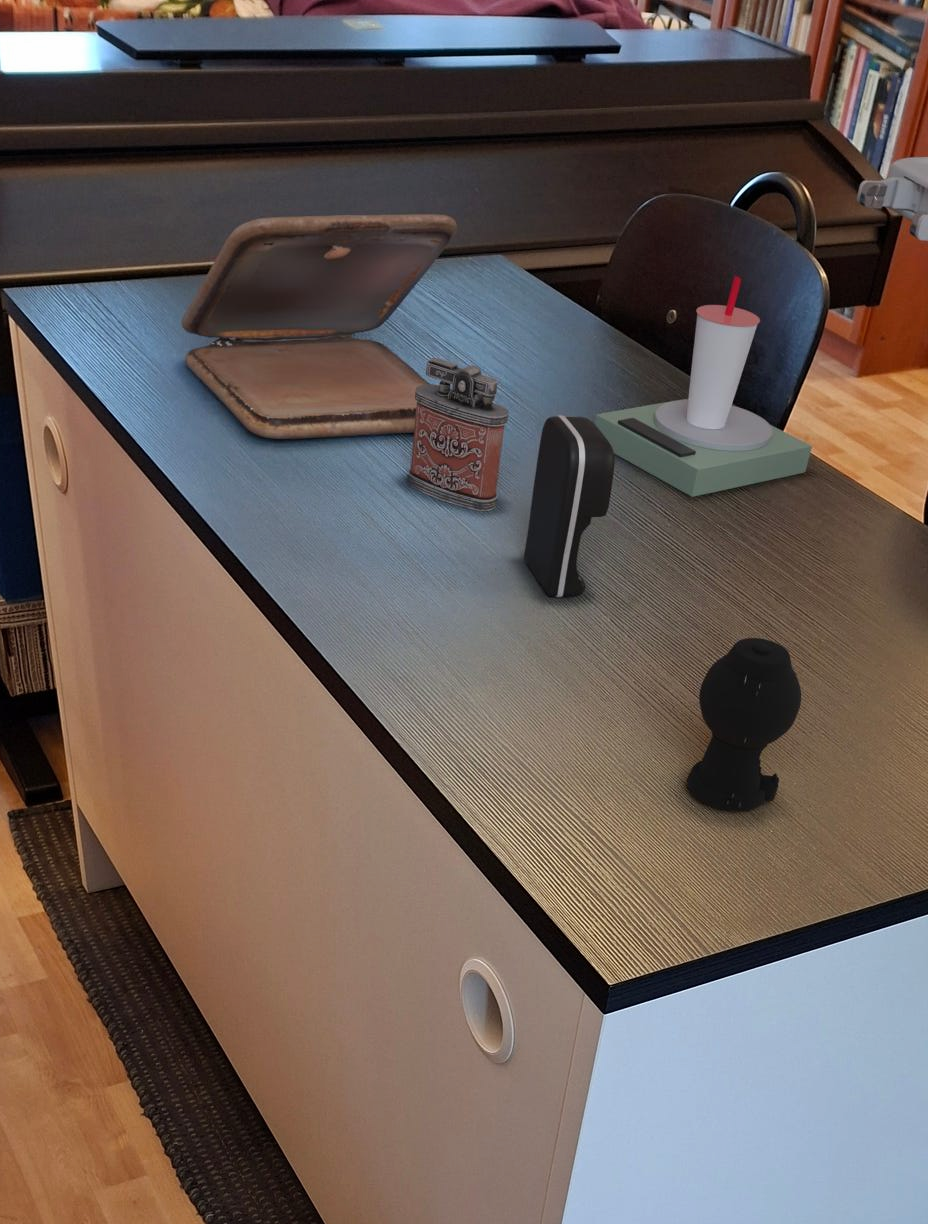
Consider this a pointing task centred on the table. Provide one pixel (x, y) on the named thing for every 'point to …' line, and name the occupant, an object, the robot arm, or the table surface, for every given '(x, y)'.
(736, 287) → the cup
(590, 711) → the table surface
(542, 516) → the battery charger
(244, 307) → the case
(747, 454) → the kitchen scale
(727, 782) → the gumball machine
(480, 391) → the lighter
